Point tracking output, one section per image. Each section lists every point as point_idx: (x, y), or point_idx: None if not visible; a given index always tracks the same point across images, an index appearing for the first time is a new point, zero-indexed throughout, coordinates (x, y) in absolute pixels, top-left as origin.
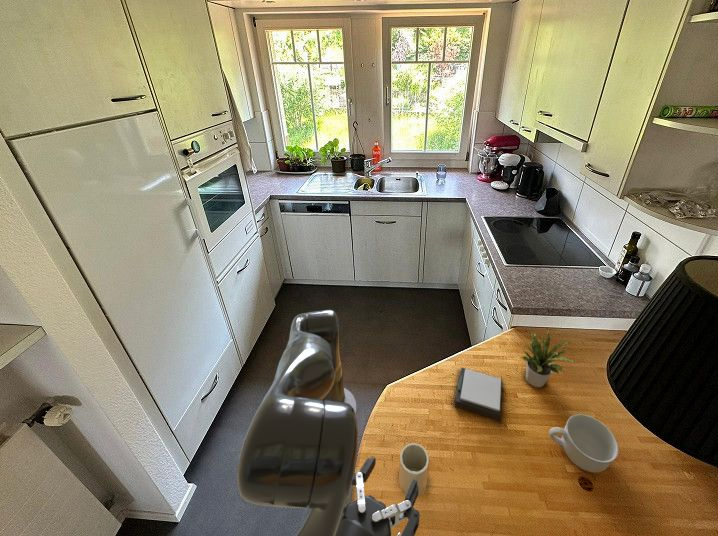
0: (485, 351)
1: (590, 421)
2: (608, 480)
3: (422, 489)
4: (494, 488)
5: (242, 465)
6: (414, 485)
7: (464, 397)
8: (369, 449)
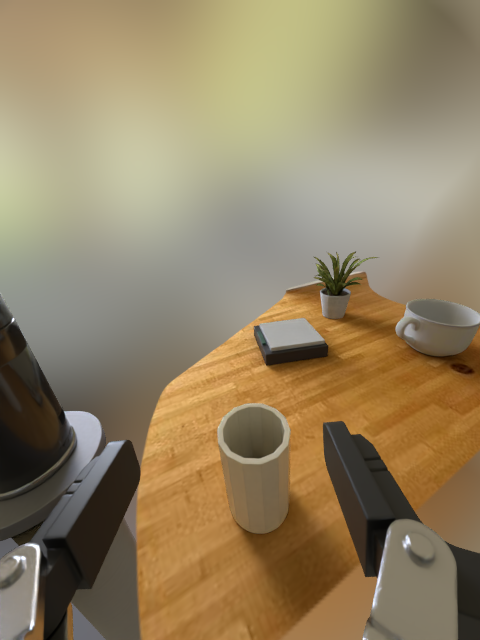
0: (270, 312)
1: (422, 305)
2: (474, 356)
3: (288, 496)
4: (385, 428)
5: None
6: (349, 437)
7: (275, 345)
8: (146, 488)
